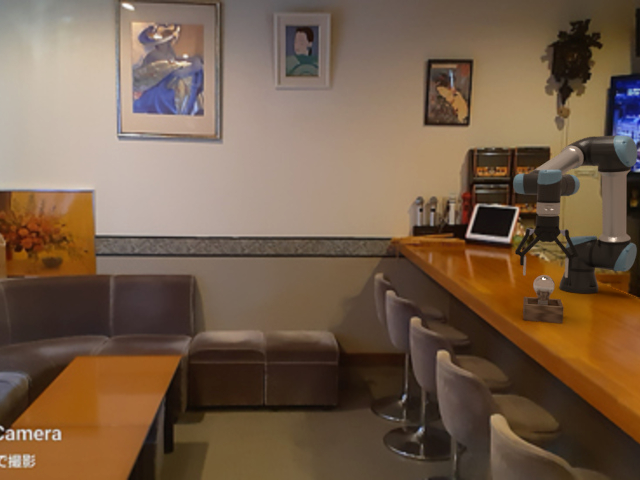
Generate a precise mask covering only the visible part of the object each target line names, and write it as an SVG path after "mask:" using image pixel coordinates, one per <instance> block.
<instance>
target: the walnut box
mask: <svg viewBox="0 0 640 480" xmlns="http://www.w3.org/2000/svg"><path fill="white" fill-rule="evenodd" d="M547 305H548V306H547ZM547 305H538V298H537V297H532V296H531V297H530V296H523V306H522V307H523V308H522V314H523V321H527V322H528V320H529V322H539V321H541V322H540V323H553V324H563V321H564V305H563V302H562V299H559V298H549V300H548V304H547Z"/></svg>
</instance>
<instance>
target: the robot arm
mask: <svg viewBox="0 0 640 480" xmlns="http://www.w3.org/2000/svg"><path fill="white" fill-rule="evenodd" d="M637 159H638V147H637V143H636V142H635V141H634V139H633V138H632V137H631V136H629V135H604V136H603V135H602V136H596V135H595V136H587V137H583V138H581V139H578V140H576V141H573V142H572V143H570V144H568V145H566V146H565V147H563V148H562V149H561V151H560V152H559V153H558V154H557V155H556V156H554V157H552V158H551V159H549V160H547V161H546V162H545V163H543V164H542V165H539V166H538V167H536V168H535V169H533V170H532V171H530V172H528V173H525V172H523V173H518V174H516V175H515V176H514V178H513V182H512V185H513V186H512V187H513V190H514V192H515V193H517V194H519V195H520V194H521V195H531V196H532V195H533V196H535V195H536V214H537V215H536V216H535V228H533V229H532V228H530V227H527V228H525V234H524V236H523V237H522V239H521V241H520V242H519V244H518V245H517V248H516V249H515V252H514V254H515V255H517V256H519V258H520V259H519V261H520V262H519V265H520V266H523V267H522V268H523V269H522V274H523V275H522V276H526V274H527V273H526V271H527V256H526V255H527V253H528V252H530V250H531V249H532V248H533V247H534V246H535V245H536V244H538V243H539V242H542V243H545V242H547V243H553V242H555V243H556V245H558V247H559V248H560V249H561V251H562V252H563V253H564V254H565V261H564V263H565V264H564V272H563V274H562V277H561V279H560V282H559V289H560V290H561V291H564V292H570V293H573V294H574V293H575V294H595V293H598V292H599V284H598V280H597V276H596V269H602V270H607V271H614V272H627V271H629V270H630V269H631V268H632V266H633V265H634V263H635V259H636V256H637V252H638V250H637V249H638V248H637V245H636V244H635V243H633V242H632V241H631V240H632V239H631V236H630V235H629V234H627V175H628V173H629V172H630V171H631V169H632V167H633V166H635V165H636V163H637ZM586 166H587V167H588V166H589V167H597V172H598V173H599V174H600V175H601V191H602V193H601V201H602V202H601V206H602V209H601V210H602V212H601V214H602V215H601V216H602V223H601V224H602V228H601V229H602V233H601V234H600V235H599V236H597V235H579V236H578V235H577V236H571V237H570V231H569V229H568V228H565V229H560V214H561V197H570V196H574V195H575V194H576V193H578V192H579V189H580V187H581V182H580V179H579V178H578V177H577V176H576V175H573V174H570V173H568V172H569V171H571V170H575V169H578V168H579V167H586ZM566 173H567V174H566ZM532 234H534V235H535V238H534V239H533V240H532V241H531V242H530V243H528V245H526V247H525V248H524V249H523V247H524V245H525V244H526V242H527V240H528V238H529V236H531V235H532ZM560 234H561V235H562V236H563V237H565V240H566V246H564V244H563V243H562V242H561V240H560V239H559V238H558V237H559V236H560ZM522 249H523V250H522ZM521 250H522V251H521Z"/></svg>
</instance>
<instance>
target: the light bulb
mask: <svg viewBox="0 0 640 480" xmlns="http://www.w3.org/2000/svg"><path fill="white" fill-rule="evenodd" d="M532 284H533V285H532V287H533V290H534V292H535V293H536V298H538V305H547V304H548V300H549V299H550V298H551V297H550V296H551V294H553V292H554V290H555V281H554V280H553V278H552V277H551V276H549V275H545V274H542V275H538V276H537V277H536V278H535V279H534V280H533V283H532ZM547 306H548V305H547Z"/></svg>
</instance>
